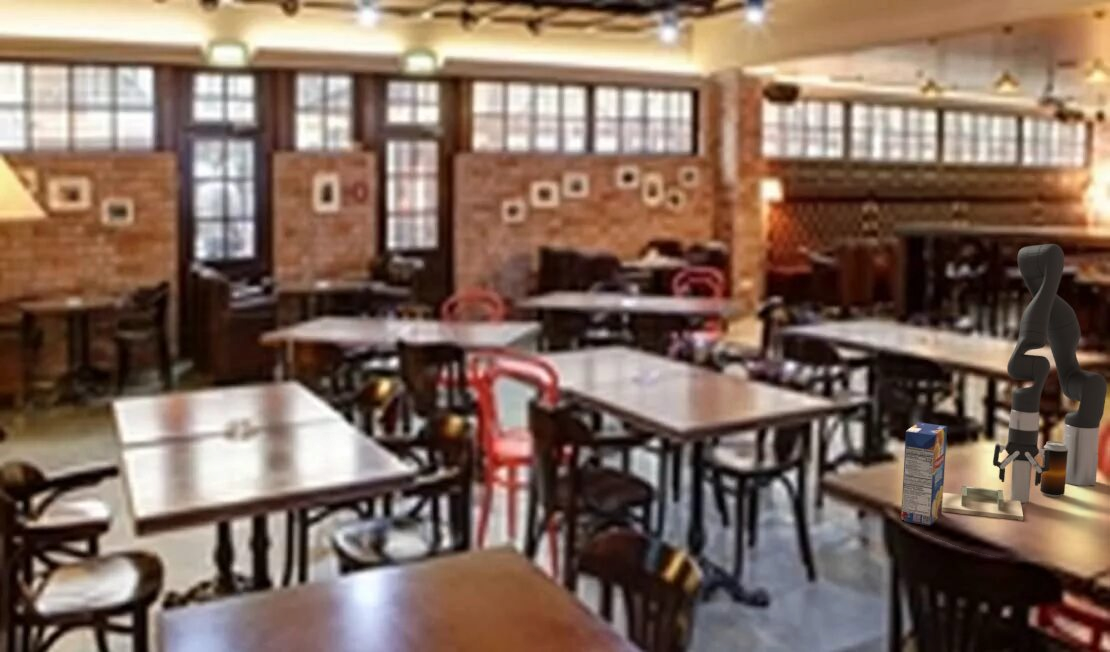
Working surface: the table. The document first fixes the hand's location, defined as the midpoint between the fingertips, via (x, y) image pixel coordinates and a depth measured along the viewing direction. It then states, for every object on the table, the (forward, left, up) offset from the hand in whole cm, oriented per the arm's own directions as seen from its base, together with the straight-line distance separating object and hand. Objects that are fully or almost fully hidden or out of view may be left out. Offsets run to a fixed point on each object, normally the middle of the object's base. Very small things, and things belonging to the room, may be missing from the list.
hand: (1019, 483), depth 295 cm
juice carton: (+25, +25, -5) cm, 36 cm away
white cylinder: (0, 0, -5) cm, 5 cm away
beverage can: (-9, -10, -5) cm, 15 cm away
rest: (+10, +11, -5) cm, 16 cm away
